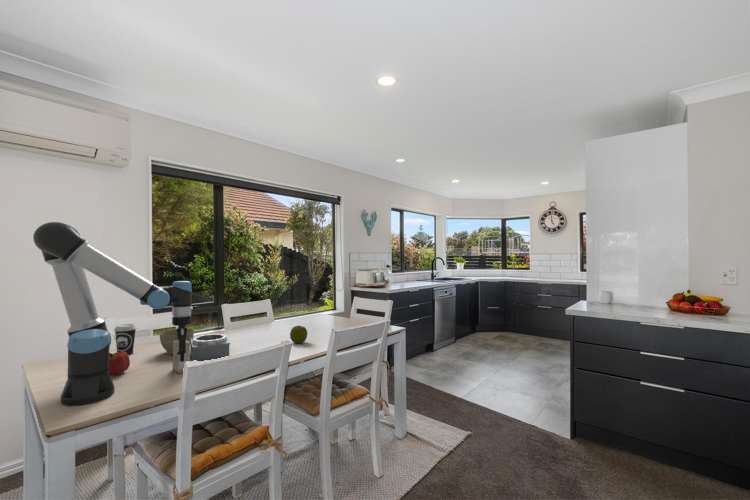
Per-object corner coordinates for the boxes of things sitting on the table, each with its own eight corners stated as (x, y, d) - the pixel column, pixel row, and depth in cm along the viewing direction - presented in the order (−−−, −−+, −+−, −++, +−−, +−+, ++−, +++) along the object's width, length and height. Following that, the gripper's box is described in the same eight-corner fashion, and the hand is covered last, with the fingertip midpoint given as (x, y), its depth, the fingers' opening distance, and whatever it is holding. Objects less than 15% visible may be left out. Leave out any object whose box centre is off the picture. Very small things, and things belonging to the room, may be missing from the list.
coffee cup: (139, 353, 180) (140, 324, 180) (118, 358, 172) (119, 328, 172) (131, 350, 185) (131, 322, 185) (110, 355, 177) (110, 325, 177)
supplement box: (190, 371, 154) (190, 341, 154) (178, 373, 150) (178, 343, 151) (183, 367, 160) (184, 338, 160) (172, 369, 156) (172, 340, 156)
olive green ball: (287, 344, 200) (287, 325, 200) (293, 340, 209) (294, 322, 209) (303, 345, 198) (303, 326, 198) (309, 341, 208) (309, 323, 208)
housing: (229, 359, 172) (230, 338, 172) (192, 364, 163) (192, 343, 163) (224, 349, 189) (224, 330, 190) (189, 353, 181) (189, 334, 181)
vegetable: (101, 380, 142) (101, 356, 142) (96, 374, 149) (96, 351, 149) (132, 373, 150) (132, 350, 151) (126, 368, 157) (127, 346, 158)
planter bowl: (185, 346, 195) (185, 326, 195) (199, 351, 185) (199, 330, 186) (153, 352, 182) (153, 332, 182) (167, 358, 172) (167, 336, 173)
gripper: (193, 319, 147) (192, 370, 147) (189, 311, 167) (189, 356, 167) (172, 320, 143) (172, 374, 143) (171, 312, 163) (171, 359, 163)
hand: (181, 364), depth 155 cm, fingers open, 11 cm apart
